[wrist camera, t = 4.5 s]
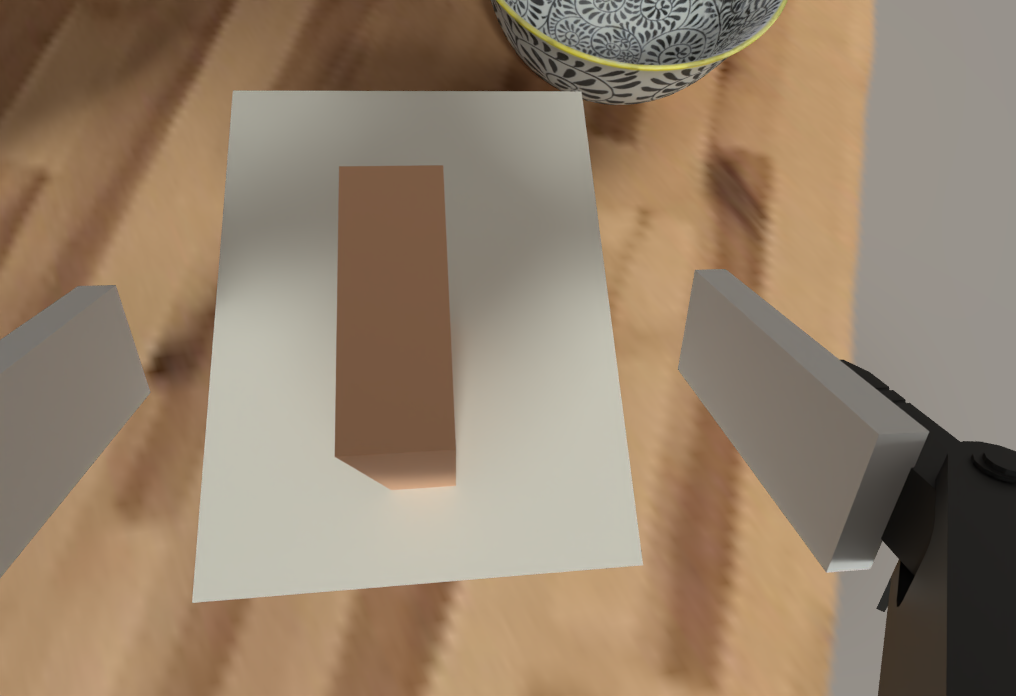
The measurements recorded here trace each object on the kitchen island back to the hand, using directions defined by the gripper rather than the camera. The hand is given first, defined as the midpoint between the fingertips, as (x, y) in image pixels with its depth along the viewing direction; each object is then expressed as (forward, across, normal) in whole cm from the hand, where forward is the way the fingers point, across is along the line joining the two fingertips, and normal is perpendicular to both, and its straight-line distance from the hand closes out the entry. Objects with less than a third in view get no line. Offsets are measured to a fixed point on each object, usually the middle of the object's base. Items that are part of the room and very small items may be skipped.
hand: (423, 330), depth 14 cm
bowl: (+26, +10, +5) cm, 28 cm away
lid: (+5, 0, -2) cm, 5 cm away
